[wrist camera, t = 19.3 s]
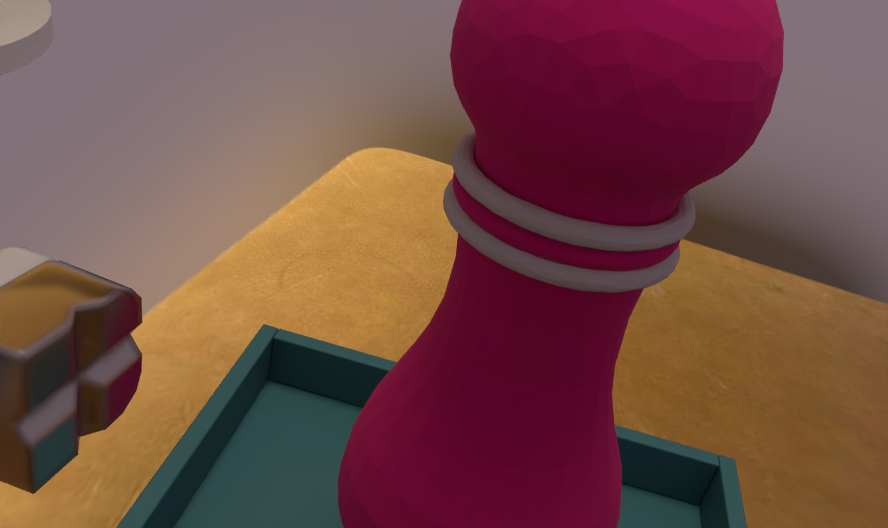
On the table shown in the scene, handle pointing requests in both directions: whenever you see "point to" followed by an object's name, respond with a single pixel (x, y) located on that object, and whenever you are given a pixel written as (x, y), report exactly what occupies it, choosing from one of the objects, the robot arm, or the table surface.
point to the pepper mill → (555, 251)
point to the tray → (325, 439)
